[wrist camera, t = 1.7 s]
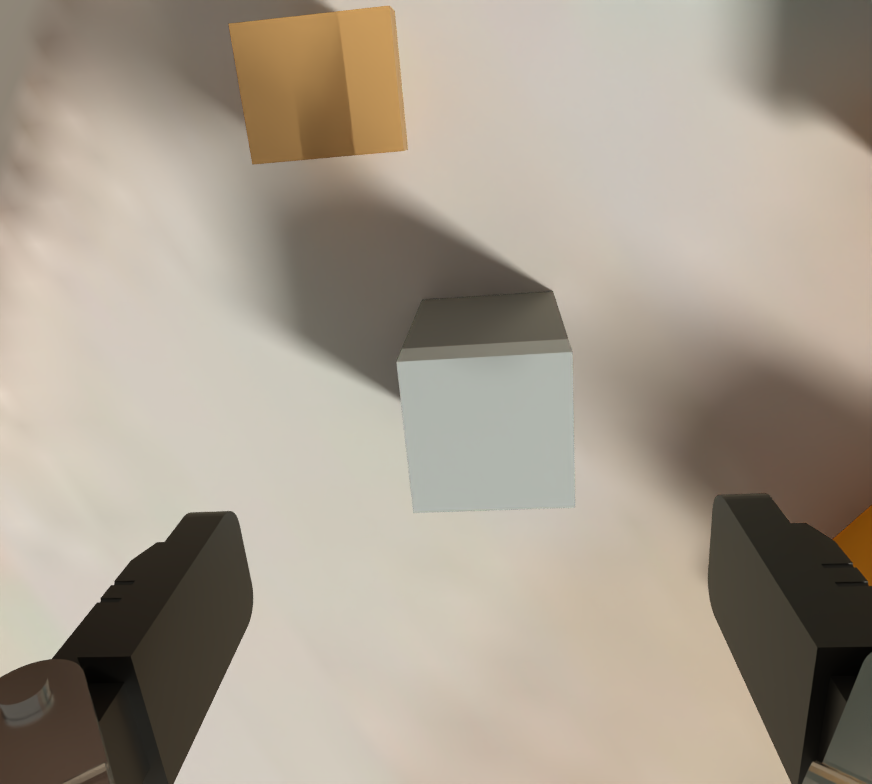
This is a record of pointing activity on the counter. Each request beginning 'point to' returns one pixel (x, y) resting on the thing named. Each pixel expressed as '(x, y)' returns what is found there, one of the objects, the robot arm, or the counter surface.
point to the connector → (488, 404)
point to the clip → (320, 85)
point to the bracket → (858, 543)
